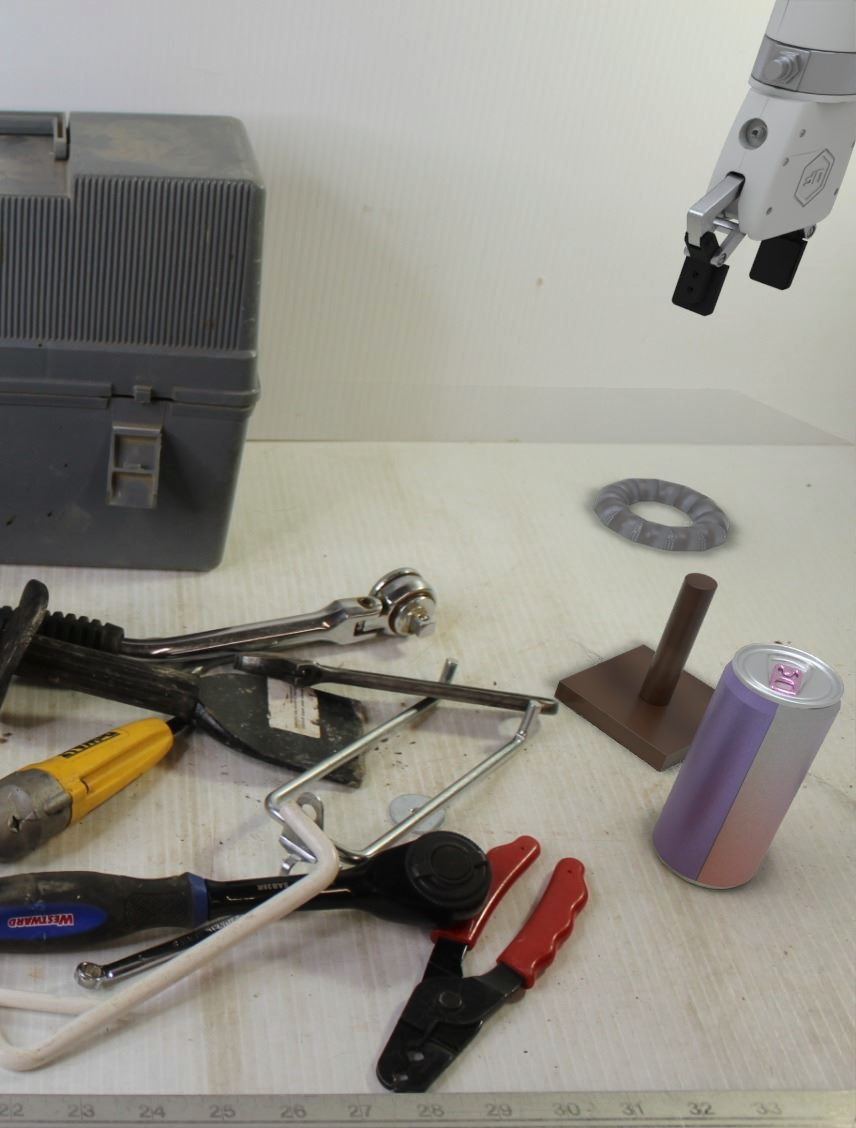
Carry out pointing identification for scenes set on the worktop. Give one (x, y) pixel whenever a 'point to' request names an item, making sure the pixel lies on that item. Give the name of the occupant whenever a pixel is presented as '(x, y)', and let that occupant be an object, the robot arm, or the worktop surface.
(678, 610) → the stand
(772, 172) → the robot arm
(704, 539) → the ring
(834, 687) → the beverage can
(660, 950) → the worktop surface
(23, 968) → the worktop surface
